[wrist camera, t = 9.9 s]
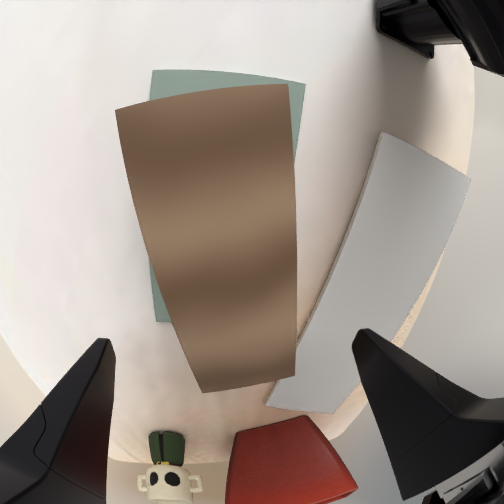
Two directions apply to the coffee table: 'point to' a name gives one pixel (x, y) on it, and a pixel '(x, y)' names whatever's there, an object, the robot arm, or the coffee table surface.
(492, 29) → the robot arm
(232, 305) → the walnut shelf board
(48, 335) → the coffee table surface
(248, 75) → the peg base
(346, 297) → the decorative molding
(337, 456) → the plant pot
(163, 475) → the character mug
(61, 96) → the coffee table surface
